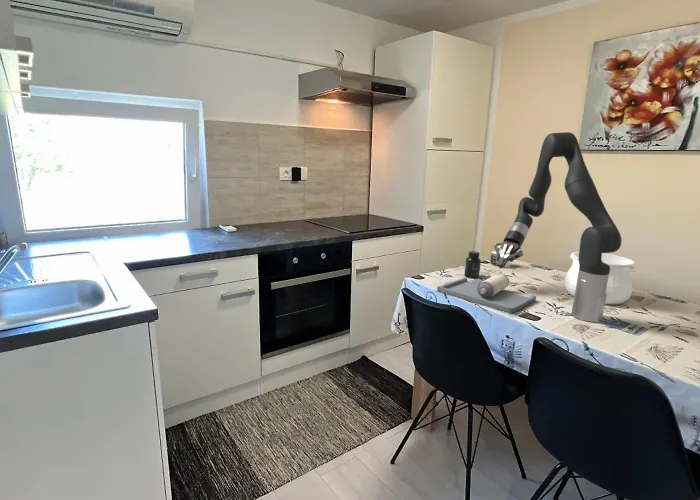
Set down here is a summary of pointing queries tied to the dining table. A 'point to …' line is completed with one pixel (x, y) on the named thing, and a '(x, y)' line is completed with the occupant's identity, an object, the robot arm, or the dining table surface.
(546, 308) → the dining table surface
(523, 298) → the tray
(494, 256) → the medicine bottle
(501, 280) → the aerosol can
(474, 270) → the supplement bottle
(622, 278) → the pot
